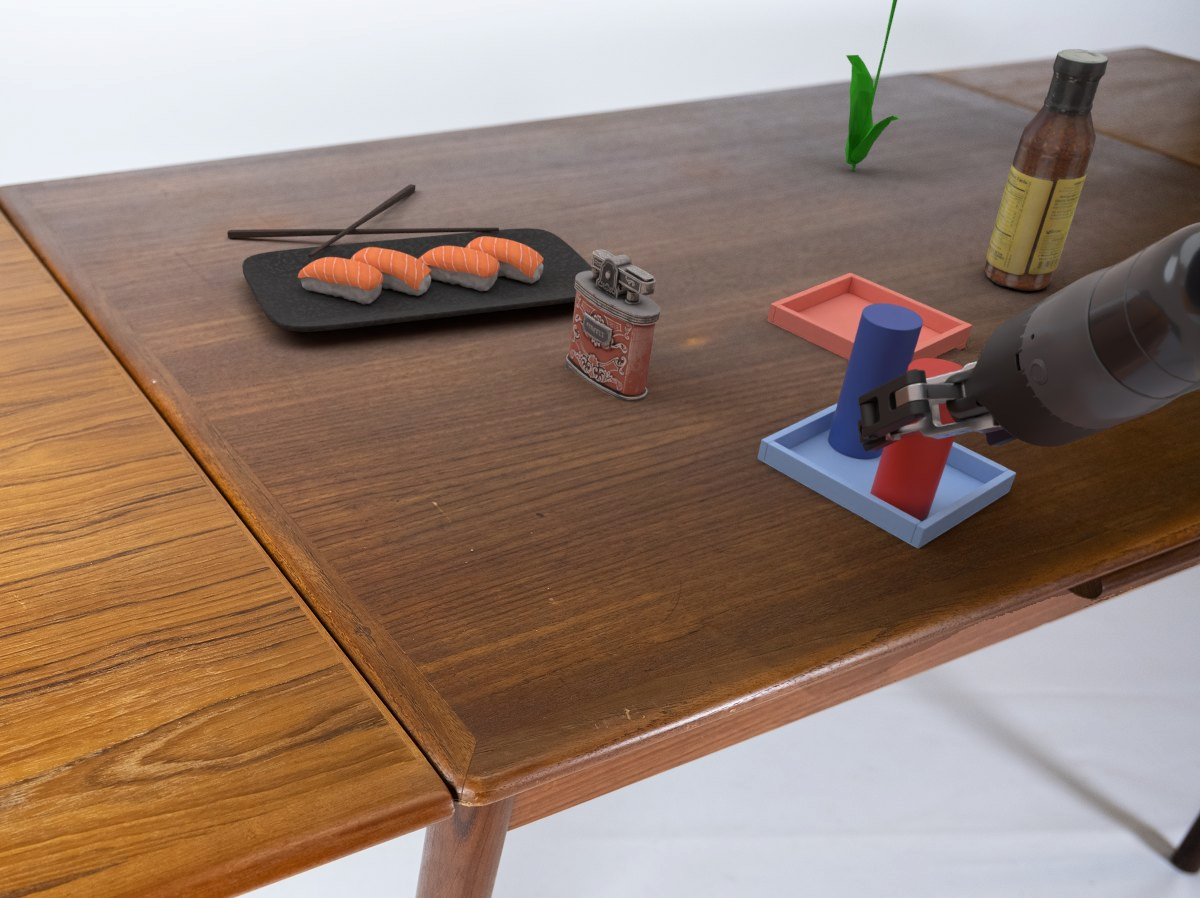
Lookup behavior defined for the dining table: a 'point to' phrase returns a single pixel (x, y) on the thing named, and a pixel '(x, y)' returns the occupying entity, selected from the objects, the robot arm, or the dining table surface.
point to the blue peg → (873, 368)
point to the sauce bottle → (1046, 177)
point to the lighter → (613, 326)
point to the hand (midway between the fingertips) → (928, 432)
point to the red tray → (838, 309)
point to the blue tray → (851, 479)
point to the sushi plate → (408, 274)
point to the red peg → (915, 458)
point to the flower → (864, 107)
